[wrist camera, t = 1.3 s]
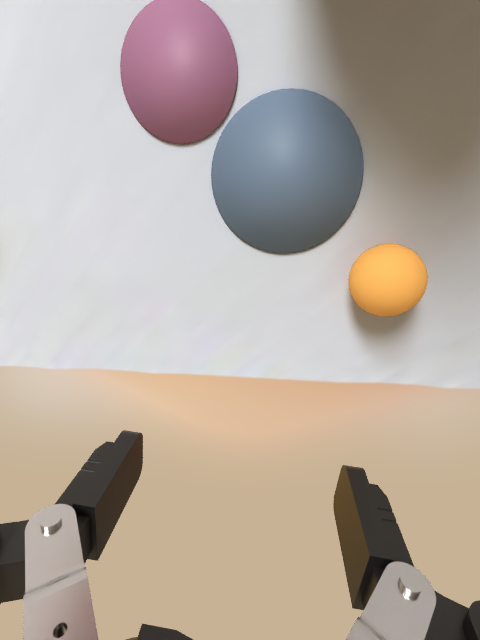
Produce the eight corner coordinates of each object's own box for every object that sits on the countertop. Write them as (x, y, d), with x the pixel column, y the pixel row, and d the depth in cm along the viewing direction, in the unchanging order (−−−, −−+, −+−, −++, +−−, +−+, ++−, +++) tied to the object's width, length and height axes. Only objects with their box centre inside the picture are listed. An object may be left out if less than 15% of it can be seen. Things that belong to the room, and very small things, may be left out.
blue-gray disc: (281, 47, 25) (281, 47, 25) (397, 169, 27) (398, 169, 27) (184, 186, 31) (183, 186, 31) (286, 280, 32) (286, 281, 32)
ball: (383, 223, 29) (400, 234, 23) (430, 270, 30) (456, 291, 24) (331, 272, 31) (335, 292, 26) (375, 314, 32) (388, 342, 27)
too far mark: (164, -40, 25) (162, -41, 24) (263, 62, 26) (262, 61, 26) (101, 87, 29) (100, 86, 29) (189, 169, 30) (188, 169, 30)
